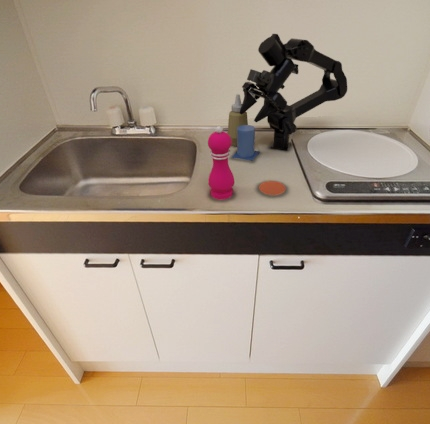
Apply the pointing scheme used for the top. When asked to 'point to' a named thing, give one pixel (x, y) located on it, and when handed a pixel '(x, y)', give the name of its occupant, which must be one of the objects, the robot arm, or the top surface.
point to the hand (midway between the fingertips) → (247, 117)
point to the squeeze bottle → (236, 120)
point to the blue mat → (246, 158)
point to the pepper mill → (220, 165)
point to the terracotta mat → (272, 188)
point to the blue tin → (245, 141)
